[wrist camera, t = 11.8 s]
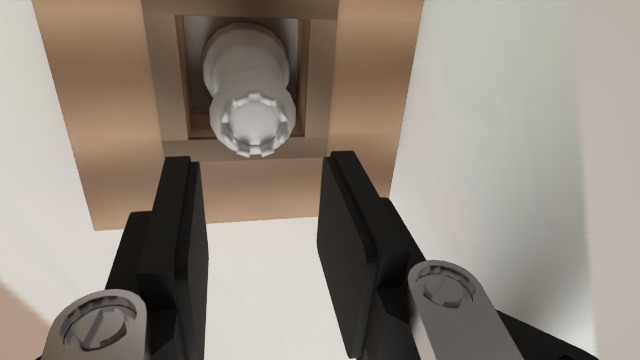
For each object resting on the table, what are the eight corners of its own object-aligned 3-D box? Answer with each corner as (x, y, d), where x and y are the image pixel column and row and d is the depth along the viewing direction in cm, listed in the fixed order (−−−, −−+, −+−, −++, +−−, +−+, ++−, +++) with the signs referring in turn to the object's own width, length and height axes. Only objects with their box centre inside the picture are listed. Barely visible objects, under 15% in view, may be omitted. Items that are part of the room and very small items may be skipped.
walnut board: (371, 185, 27) (387, 214, 24) (108, 198, 24) (92, 234, 21) (415, -112, 19) (447, -118, 16) (24, -150, 16) (-18, -165, 13)
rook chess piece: (230, 0, 20) (234, 38, 13) (305, 53, 22) (340, 110, 15) (184, 75, 21) (166, 144, 15) (258, 119, 23) (271, 197, 17)
